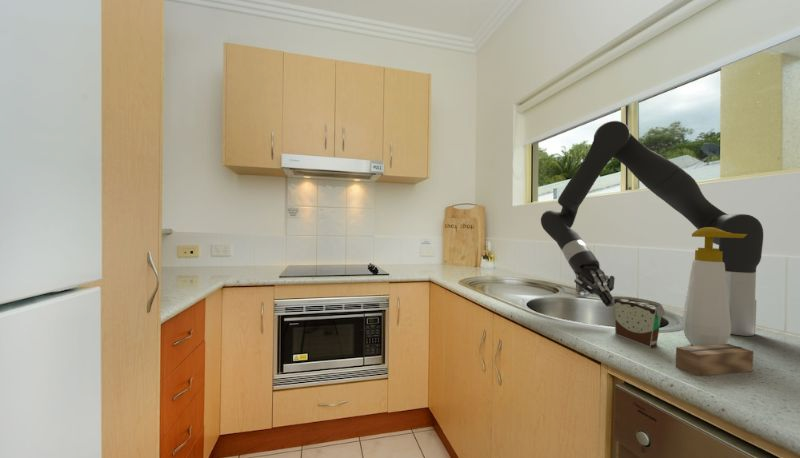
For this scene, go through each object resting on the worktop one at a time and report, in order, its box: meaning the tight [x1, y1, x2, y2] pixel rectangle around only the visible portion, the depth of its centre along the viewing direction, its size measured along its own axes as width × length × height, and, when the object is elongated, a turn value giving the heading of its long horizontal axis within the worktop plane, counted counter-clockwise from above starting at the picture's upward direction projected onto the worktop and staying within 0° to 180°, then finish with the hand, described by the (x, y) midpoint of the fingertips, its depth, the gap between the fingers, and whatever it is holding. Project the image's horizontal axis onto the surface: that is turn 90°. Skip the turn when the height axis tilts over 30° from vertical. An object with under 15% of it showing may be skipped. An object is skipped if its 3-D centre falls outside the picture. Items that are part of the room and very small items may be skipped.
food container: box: [612, 295, 666, 349], centre depth 79 cm, size 12×6×10 cm, turn 12°
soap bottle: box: [681, 227, 747, 346], centre depth 74 cm, size 13×10×29 cm
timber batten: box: [675, 343, 754, 377], centre depth 63 cm, size 14×4×4 cm, turn 102°
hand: (611, 305), depth 88 cm, fingers closed
